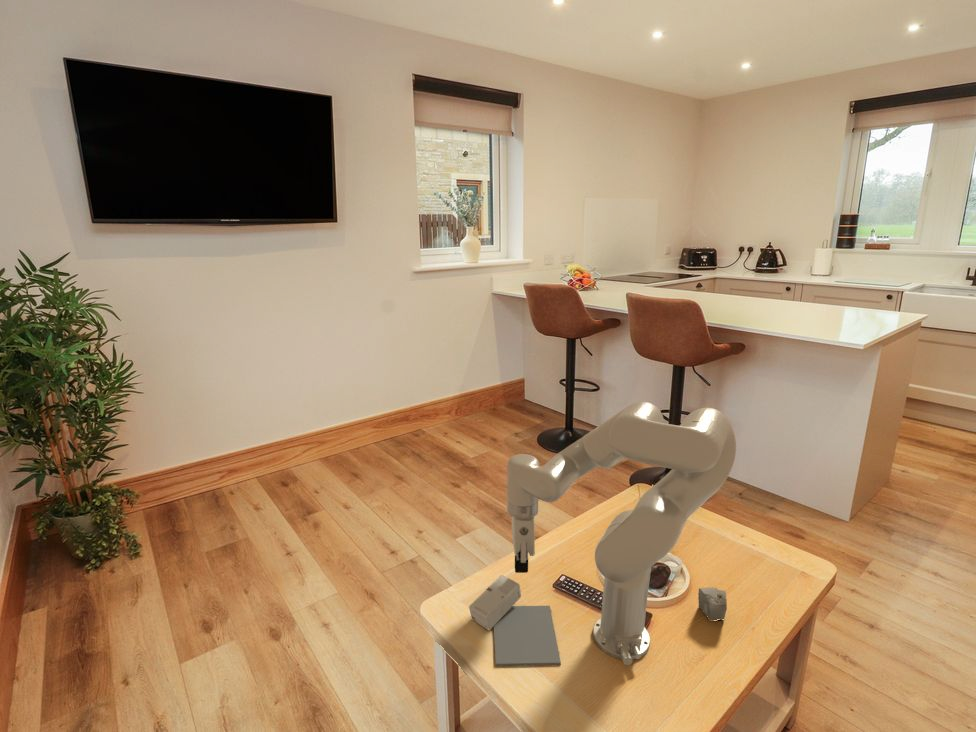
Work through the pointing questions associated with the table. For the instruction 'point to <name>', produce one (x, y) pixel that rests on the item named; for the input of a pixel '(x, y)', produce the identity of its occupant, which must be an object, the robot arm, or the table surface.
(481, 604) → the skincare box
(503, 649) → the mat
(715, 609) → the mineral specimen
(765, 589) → the table surface
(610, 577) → the robot arm
